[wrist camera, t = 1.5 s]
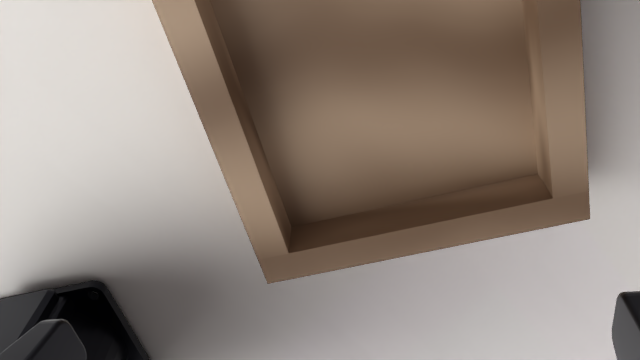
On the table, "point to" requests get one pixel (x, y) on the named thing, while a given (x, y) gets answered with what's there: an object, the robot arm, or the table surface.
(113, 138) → the table surface
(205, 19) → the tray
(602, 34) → the table surface
